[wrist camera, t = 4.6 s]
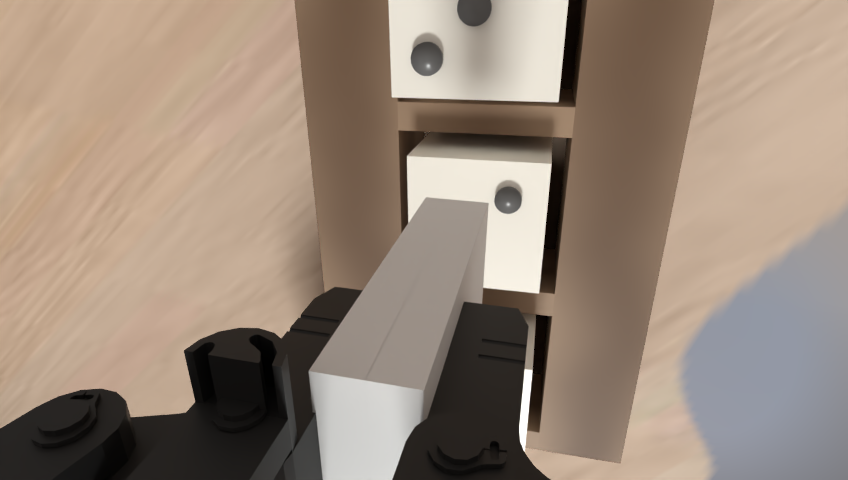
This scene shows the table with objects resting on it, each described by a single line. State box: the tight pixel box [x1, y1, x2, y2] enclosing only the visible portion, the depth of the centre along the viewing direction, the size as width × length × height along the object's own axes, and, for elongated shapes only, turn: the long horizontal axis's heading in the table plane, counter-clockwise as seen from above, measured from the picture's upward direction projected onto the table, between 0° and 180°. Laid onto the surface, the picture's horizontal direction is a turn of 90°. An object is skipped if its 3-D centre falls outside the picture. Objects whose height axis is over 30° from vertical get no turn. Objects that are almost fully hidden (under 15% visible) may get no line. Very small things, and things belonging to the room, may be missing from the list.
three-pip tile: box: [388, 0, 568, 102], centre depth 16 cm, size 5×5×5 cm
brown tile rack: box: [295, 0, 714, 463], centre depth 21 cm, size 13×22×4 cm, turn 1°
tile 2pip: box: [407, 132, 552, 294], centre depth 20 cm, size 5×5×5 cm
